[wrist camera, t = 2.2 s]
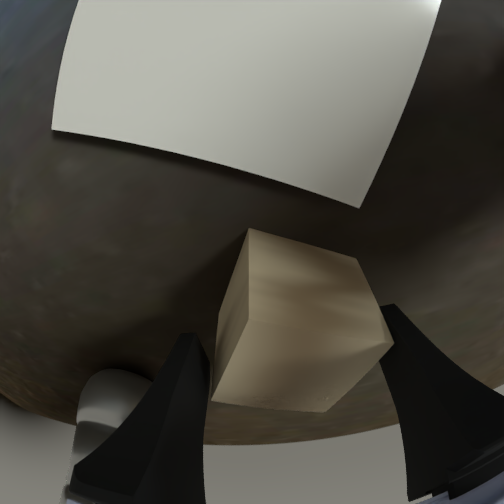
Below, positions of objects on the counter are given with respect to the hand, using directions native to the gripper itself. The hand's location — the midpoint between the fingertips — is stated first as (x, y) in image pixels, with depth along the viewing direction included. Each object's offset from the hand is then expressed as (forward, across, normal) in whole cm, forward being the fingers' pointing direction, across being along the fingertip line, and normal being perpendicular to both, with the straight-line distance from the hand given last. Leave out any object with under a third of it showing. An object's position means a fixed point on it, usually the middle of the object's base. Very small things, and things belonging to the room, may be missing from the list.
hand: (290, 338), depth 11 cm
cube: (+3, 0, 0) cm, 3 cm away
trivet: (+3, -1, -12) cm, 12 cm away
